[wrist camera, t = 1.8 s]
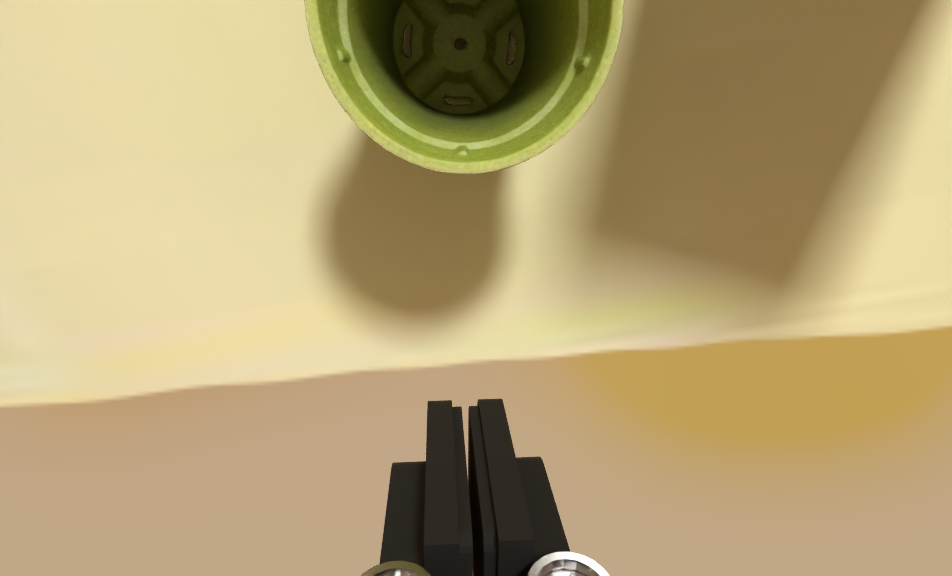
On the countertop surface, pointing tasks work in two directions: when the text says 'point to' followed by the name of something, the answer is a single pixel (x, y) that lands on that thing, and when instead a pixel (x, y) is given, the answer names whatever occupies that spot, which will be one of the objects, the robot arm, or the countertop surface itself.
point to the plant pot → (465, 73)
